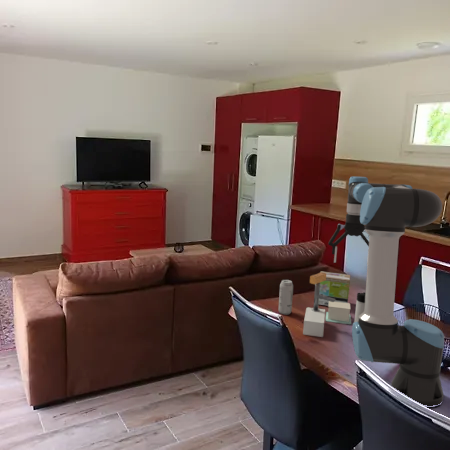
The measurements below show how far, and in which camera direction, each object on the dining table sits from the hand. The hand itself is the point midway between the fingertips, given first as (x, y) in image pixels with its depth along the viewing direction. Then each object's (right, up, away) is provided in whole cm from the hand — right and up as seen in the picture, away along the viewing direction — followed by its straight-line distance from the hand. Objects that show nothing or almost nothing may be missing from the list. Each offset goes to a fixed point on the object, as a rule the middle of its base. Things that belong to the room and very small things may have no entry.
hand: (351, 263), depth 190 cm
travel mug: (+1, -30, -10) cm, 32 cm away
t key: (-12, -21, +2) cm, 24 cm away
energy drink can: (-26, -24, +17) cm, 39 cm away
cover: (-2, -25, +12) cm, 28 cm away
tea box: (-1, -23, +31) cm, 39 cm away
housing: (-16, -28, 0) cm, 32 cm away
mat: (-2, -26, +12) cm, 29 cm away
